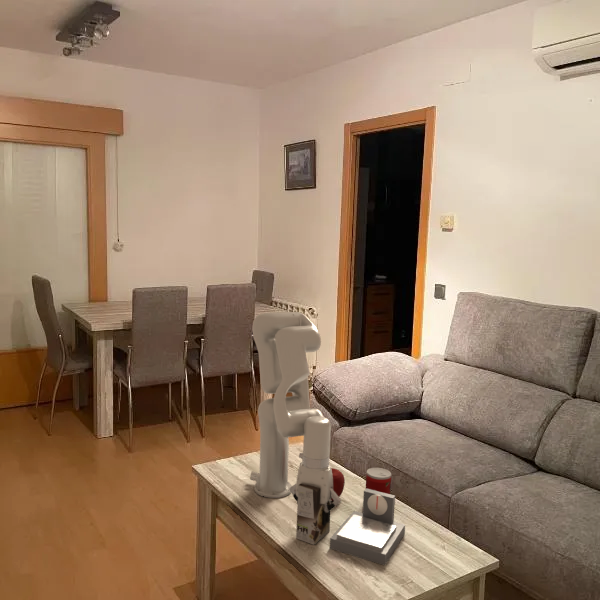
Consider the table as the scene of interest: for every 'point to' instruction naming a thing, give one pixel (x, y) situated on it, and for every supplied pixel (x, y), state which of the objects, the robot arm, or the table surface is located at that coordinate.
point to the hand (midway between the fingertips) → (313, 519)
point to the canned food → (378, 480)
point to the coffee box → (310, 515)
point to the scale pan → (367, 532)
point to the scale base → (380, 510)
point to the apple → (338, 482)
